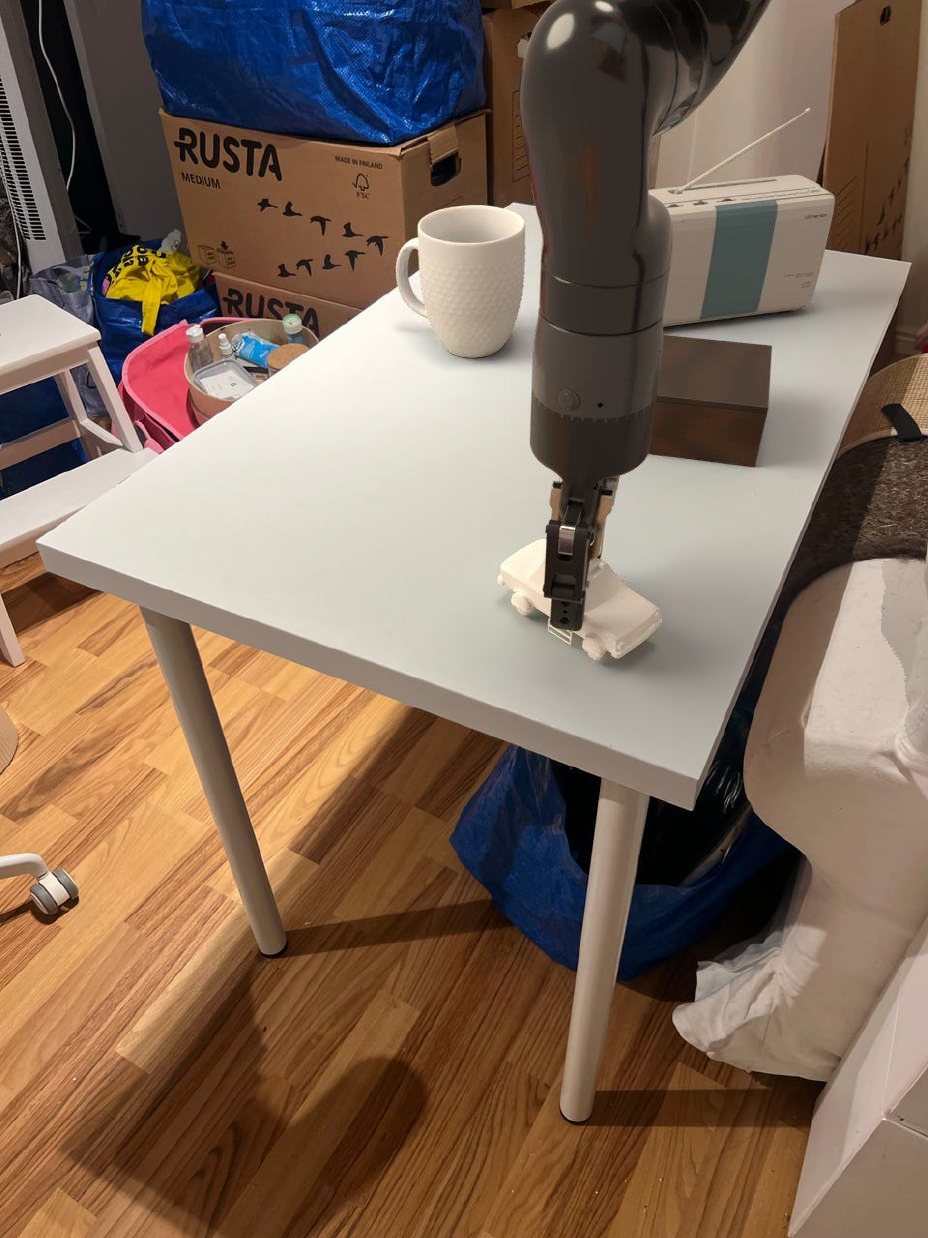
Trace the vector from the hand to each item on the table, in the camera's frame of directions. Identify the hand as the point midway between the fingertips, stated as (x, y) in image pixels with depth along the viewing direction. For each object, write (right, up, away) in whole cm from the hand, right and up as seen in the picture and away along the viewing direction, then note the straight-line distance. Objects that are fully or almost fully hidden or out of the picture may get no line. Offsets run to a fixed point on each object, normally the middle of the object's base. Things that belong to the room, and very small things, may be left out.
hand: (576, 590), depth 66 cm
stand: (+13, +17, +22) cm, 31 cm away
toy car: (0, -2, +2) cm, 3 cm away
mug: (-8, +29, +36) cm, 47 cm away
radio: (+21, +33, +40) cm, 56 cm away
